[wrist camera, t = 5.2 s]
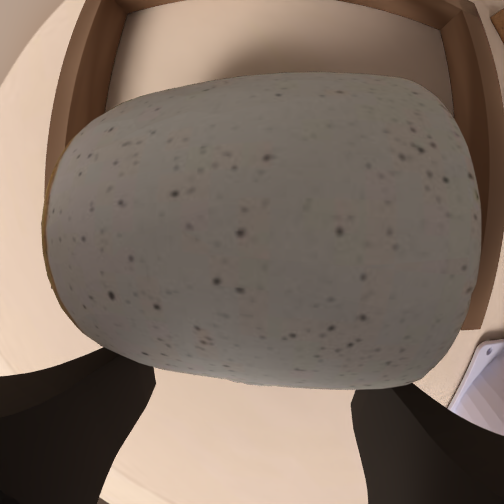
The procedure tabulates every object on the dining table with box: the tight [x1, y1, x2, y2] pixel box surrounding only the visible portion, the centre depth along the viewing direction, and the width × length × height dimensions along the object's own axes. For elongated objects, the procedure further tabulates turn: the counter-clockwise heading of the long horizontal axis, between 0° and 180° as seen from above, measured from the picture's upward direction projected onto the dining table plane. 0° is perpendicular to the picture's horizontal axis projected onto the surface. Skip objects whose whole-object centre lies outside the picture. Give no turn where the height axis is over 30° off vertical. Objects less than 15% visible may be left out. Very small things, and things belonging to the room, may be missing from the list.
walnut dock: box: [44, 0, 504, 330], centre depth 8 cm, size 18×15×2 cm
